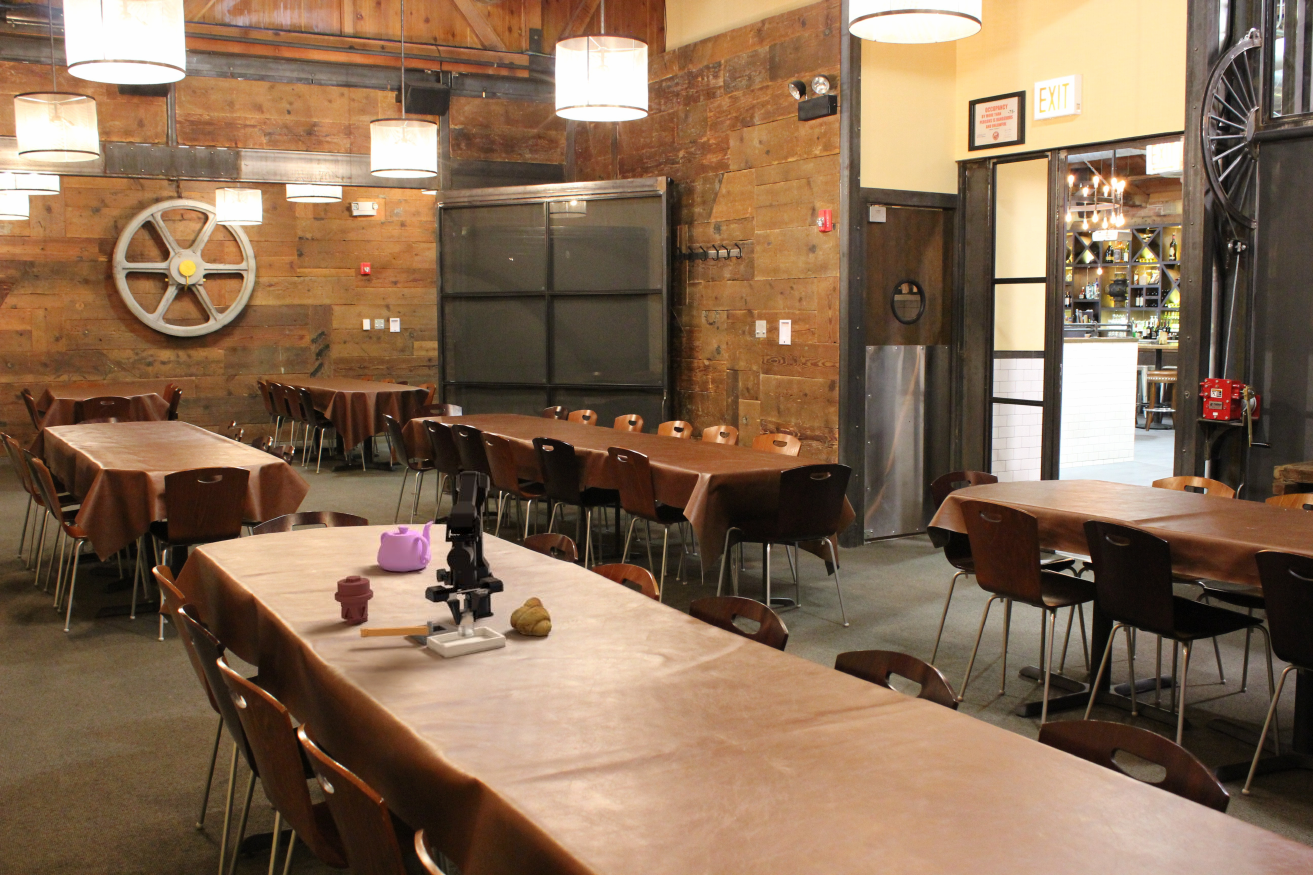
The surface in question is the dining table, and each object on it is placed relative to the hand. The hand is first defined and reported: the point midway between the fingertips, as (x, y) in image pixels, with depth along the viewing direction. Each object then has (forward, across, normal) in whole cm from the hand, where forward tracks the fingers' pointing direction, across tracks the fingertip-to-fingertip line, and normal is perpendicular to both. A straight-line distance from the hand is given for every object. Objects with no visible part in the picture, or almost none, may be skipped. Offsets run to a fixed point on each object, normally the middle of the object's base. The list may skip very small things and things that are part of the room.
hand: (465, 623), depth 266 cm
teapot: (+6, -22, -90) cm, 93 cm away
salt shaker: (+3, 0, 0) cm, 3 cm away
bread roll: (+6, -19, -2) cm, 20 cm away
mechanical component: (+6, +15, -37) cm, 41 cm away
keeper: (+4, +13, -12) cm, 18 cm away
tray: (+6, 0, 0) cm, 6 cm away
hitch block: (+6, +3, -12) cm, 14 cm away
